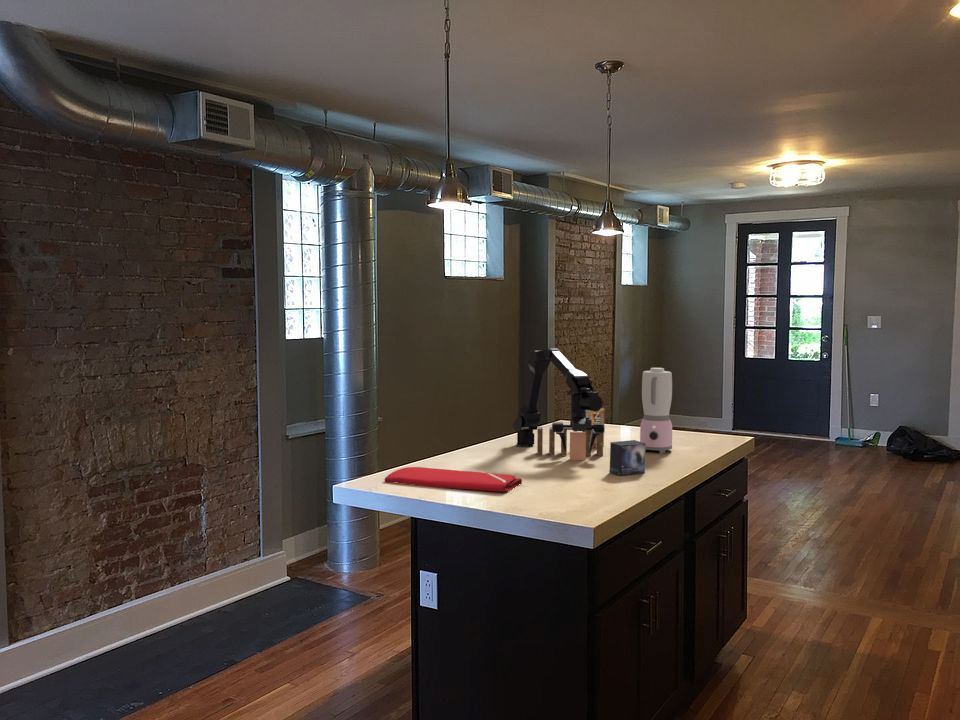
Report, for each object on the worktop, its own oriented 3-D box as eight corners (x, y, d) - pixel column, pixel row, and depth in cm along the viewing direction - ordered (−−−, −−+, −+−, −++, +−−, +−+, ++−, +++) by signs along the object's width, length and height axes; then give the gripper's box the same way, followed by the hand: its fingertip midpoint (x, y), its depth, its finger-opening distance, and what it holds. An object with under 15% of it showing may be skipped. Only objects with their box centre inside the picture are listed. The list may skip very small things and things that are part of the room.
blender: (643, 446, 313) (644, 366, 311) (674, 449, 309) (675, 367, 307) (635, 453, 299) (636, 369, 297) (668, 456, 294) (669, 370, 292)
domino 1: (537, 455, 295) (537, 428, 295) (537, 452, 301) (537, 426, 300) (542, 455, 295) (542, 429, 295) (542, 452, 301) (542, 426, 300)
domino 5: (585, 455, 294) (586, 429, 294) (584, 453, 300) (585, 427, 299) (590, 456, 294) (591, 429, 294) (589, 453, 300) (589, 427, 299)
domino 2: (549, 455, 295) (549, 429, 294) (549, 452, 301) (549, 426, 300) (554, 455, 295) (554, 429, 294) (553, 452, 301) (554, 426, 300)
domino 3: (561, 455, 295) (562, 429, 294) (561, 452, 301) (561, 426, 300) (566, 455, 295) (566, 429, 294) (565, 452, 300) (565, 426, 300)
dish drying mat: (407, 474, 265) (407, 463, 265) (522, 485, 249) (522, 473, 248) (384, 483, 250) (384, 472, 250) (504, 496, 234) (504, 484, 234)
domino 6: (598, 456, 294) (598, 429, 294) (596, 453, 300) (596, 427, 299) (602, 456, 294) (603, 429, 293) (601, 453, 300) (601, 427, 299)
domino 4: (585, 460, 286) (585, 432, 286) (570, 460, 287) (570, 432, 286) (585, 459, 288) (585, 432, 288) (569, 459, 289) (570, 432, 288)
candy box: (596, 445, 317) (597, 407, 316) (604, 446, 314) (605, 408, 313) (581, 447, 312) (581, 409, 311) (589, 449, 309) (589, 410, 308)
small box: (620, 476, 260) (621, 445, 259) (608, 472, 265) (609, 441, 265) (646, 473, 264) (646, 442, 264) (633, 469, 270) (634, 439, 269)
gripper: (553, 411, 279) (552, 454, 280) (606, 411, 278) (605, 455, 279) (552, 407, 290) (551, 449, 291) (603, 407, 289) (602, 449, 290)
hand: (577, 450), depth 287 cm, fingers open, 9 cm apart
